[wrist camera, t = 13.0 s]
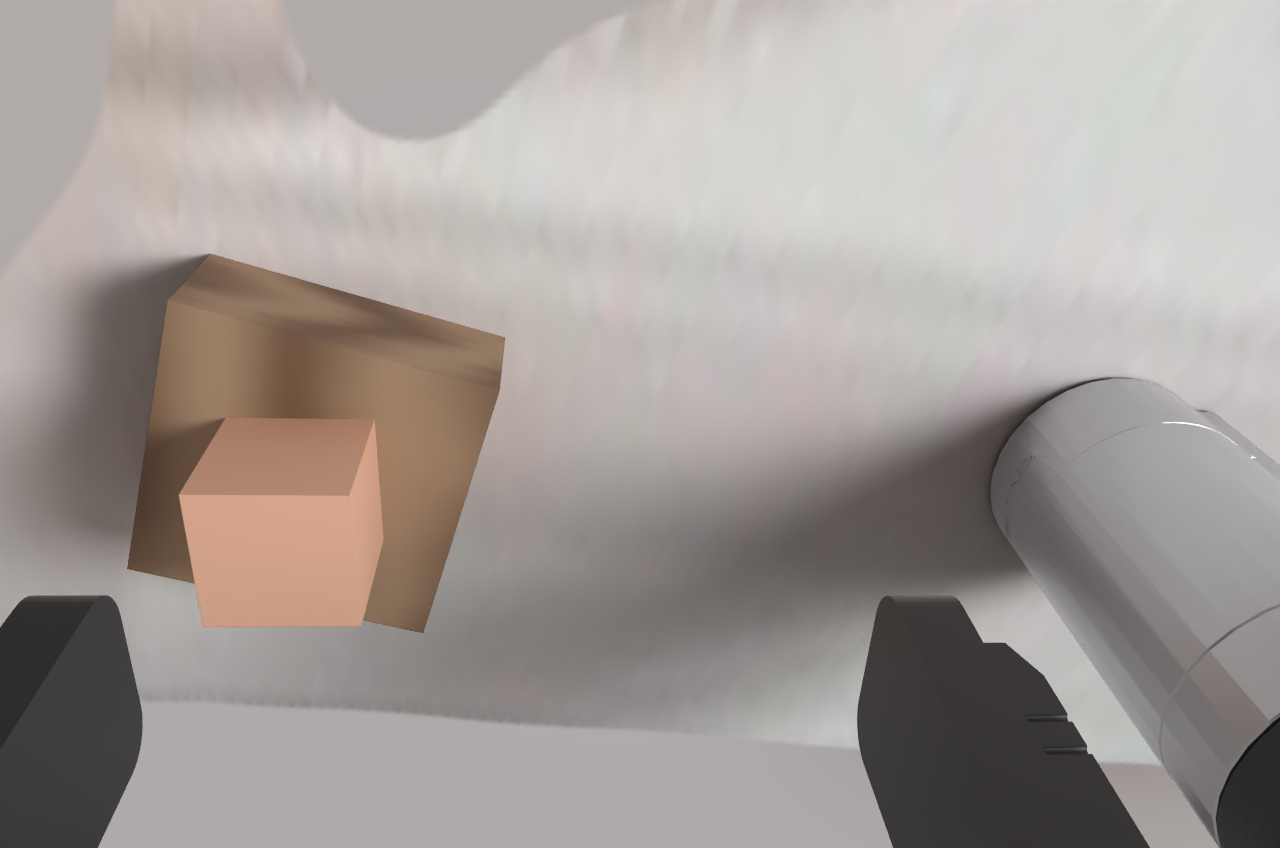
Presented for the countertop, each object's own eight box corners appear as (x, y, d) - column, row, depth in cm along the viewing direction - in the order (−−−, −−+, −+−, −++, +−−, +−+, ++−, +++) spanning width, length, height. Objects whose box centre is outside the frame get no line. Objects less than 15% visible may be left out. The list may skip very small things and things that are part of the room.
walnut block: (505, 334, 40) (499, 390, 35) (436, 558, 44) (422, 633, 40) (213, 250, 37) (167, 300, 33) (171, 496, 42) (127, 568, 38)
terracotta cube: (374, 419, 36) (349, 495, 31) (383, 539, 38) (361, 626, 34) (225, 417, 35) (178, 494, 31) (244, 539, 37) (203, 627, 33)
